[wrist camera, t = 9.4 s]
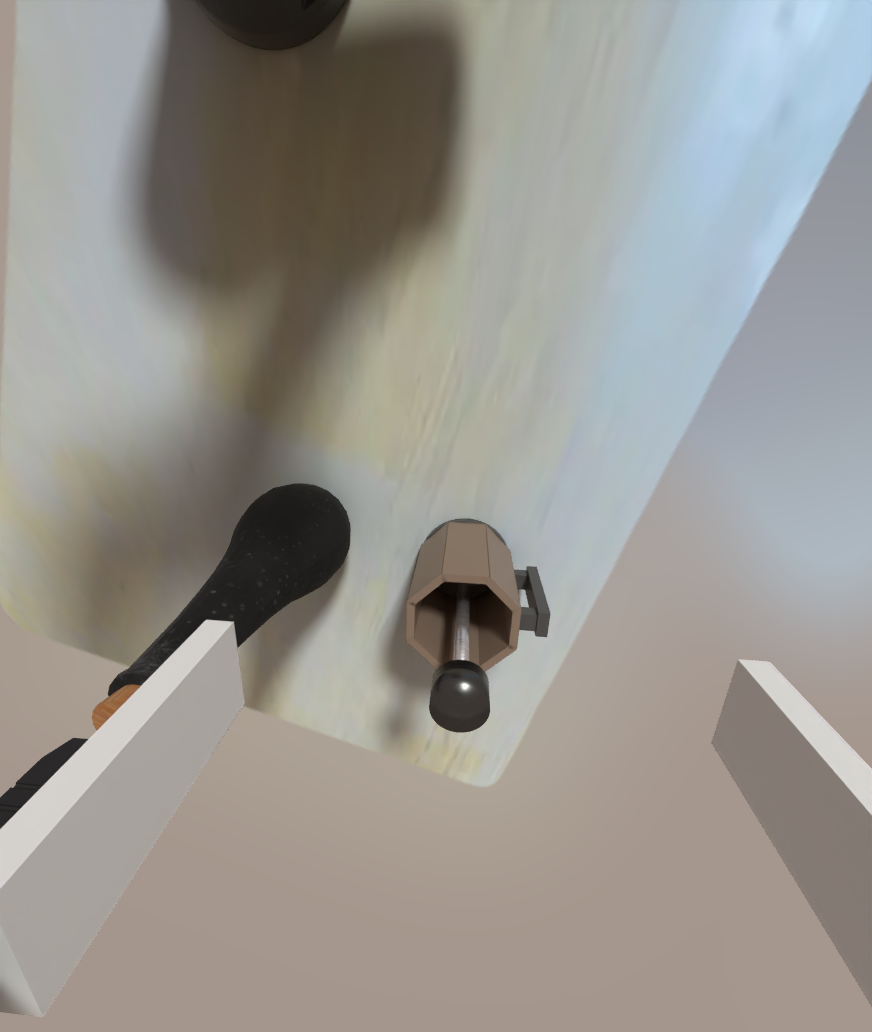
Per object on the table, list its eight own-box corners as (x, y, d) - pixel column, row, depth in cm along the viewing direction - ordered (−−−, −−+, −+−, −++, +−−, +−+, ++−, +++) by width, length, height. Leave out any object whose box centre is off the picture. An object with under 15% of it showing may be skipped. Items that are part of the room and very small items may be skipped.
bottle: (334, 576, 53) (180, 829, 25) (253, 529, 52) (-4, 741, 24) (378, 505, 50) (258, 706, 22) (293, 453, 49) (48, 595, 20)
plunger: (434, 536, 49) (409, 662, 29) (498, 540, 48) (516, 670, 29) (432, 592, 51) (407, 743, 32) (493, 596, 51) (506, 752, 31)
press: (421, 516, 50) (405, 569, 38) (536, 522, 49) (558, 579, 37) (419, 596, 53) (403, 668, 41) (526, 603, 53) (543, 679, 41)
